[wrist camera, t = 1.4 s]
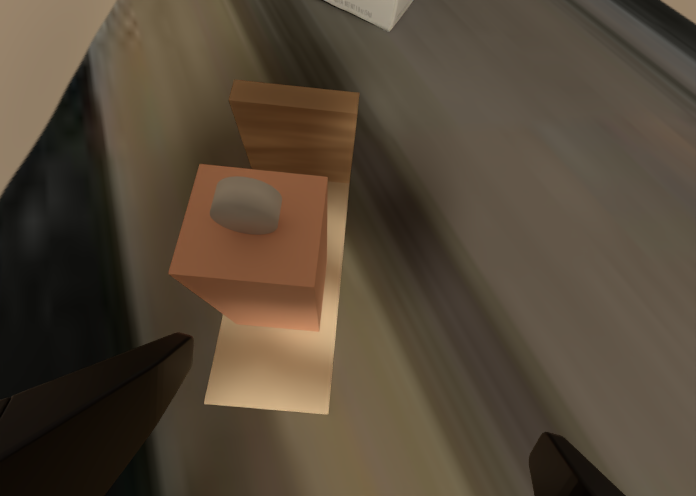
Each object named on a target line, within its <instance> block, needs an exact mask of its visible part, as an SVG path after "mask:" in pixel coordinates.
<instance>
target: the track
mask: <svg viewBox="0 0 696 496" xmlns="http://www.w3.org/2000/svg"><path fill="white" fill-rule="evenodd" d="M358 101H359V93H355V92H346V91H336V90H327V89H318V88H308V87H299V86H290V85H280V84H271V83H262V82H252V81H243V80H234V82H233V86H232V89H231V93H230V97H229V103H230V106H231V109H232V112H233V115H234V118H235V121H236V124H237V127H238V130H239V133H240V136H241V139H242V142H243V145H244V147H245V150H246V153H247V156H248V159H249V162H250V165H251V168H252V169H255V170H265V171H275V172H284V173H294V174H304V175H314V176H324V177H328V193H327V267H326V276H325V285H324V294H323V303H322V312H321V321H320V331H319V332H316V331H305V330H294V329H283V328H272V327H261V326H250V325H239V324H236V323H234V322H233V321H232V320H230V319H229V318H228V317H226V316H225V315H224V314H223V317H222V322H221V326H220V331H219V336H218V340H217V345H216V350H215V354H214V359H213V364H212V368H211V373H210V378H209V382H208V387H207V391H206V396H205V401H204V404H212V405H224V406H235V407H247V408H259V409H271V410H282V411H294V412H306V413H318V414H328V411H329V400H330V390H331V379H332V368H333V357H334V346H335V335H336V324H337V313H338V302H339V292H340V281H341V270H342V259H343V248H344V237H345V226H346V215H347V204H348V194H349V183H350V174H351V165H352V156H353V148H354V139H355V130H356V121H357V112H358Z"/></svg>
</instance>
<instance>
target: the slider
mask: <svg viewBox="0 0 696 496" xmlns="http://www.w3.org/2000/svg"><path fill="white" fill-rule="evenodd" d="M327 193H328V177H324V176H314V175H304V174H294V173H284V172H275V171H265V170H255V169H245V168H235V167H225V166H215V165H205V164H199V168H198V171H197V175H196V178H195V182H194V185H193V189H192V192H191V196H190V199H189V203H188V206H187V210H186V213H185V217H184V220H183V224H182V227H181V231H180V234H179V238H178V241H177V245H176V248H175V251H174V255H173V258H172V262H171V265H170V269H169V272H168V274H169V275H170V276H172V277H173V278H175V279H176V280H177V281H179V282H180V283H181V284H183V285H184V286H185V287H187V288H188V289H189V290H191V291H192V292H194V293H195V294H196V295H198V296H199V297H200V298H202V299H203V300H204V301H206V302H207V303H209V304H210V305H211V306H213V307H214V308H215V309H217V310H218V311H219V312H221V313H222V314H224V315H225V316H226V317H228V318H229V319H230V320H232V321H233V322H234V323H236V324H239V325H250V326H261V327H272V328H283V329H294V330H305V331H316V332H319V331H320V321H321V312H322V303H323V294H324V285H325V276H326V267H327Z"/></svg>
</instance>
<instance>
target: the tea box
mask: <svg viewBox="0 0 696 496" xmlns="http://www.w3.org/2000/svg"><path fill="white" fill-rule="evenodd" d="M324 1H326V2H328V3H330V4H332V5H334V6H336V7H338V8H340V9H343V10H345V11H347V12H349V13H352V14H354V15H356V16H358V17H360V18H362V19H364V20H366V21H368V22H370V23H372V24H374V25H376V26H378V27H380V28H382V29H384V30H386V31H390V30H391V29H392V28H393V27H394V26H395V24H396V23H397V22H398V20H399V19H400V18H401V16H402V15H403V14H404V12H405V11H406V10H407V8H408V7H409V6H410V4H411V3H412V2H413V1H414V0H324Z"/></svg>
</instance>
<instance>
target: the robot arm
mask: <svg viewBox="0 0 696 496" xmlns="http://www.w3.org/2000/svg"><path fill="white" fill-rule="evenodd" d="M193 346H194V339H193V337H192V336H191V335H187V334H183V333H179V332H177V333H174V334H171V335H168V336H166V337H163V338H161V339H158V340H155V341H153V342H150V343H148V344H145V345H143V346H140V347H137V348H135V349H132V350H130V351H127V352H124V353H122V354H119V355H117V356H114V357H111V358H109V359H106V360H104V361H101V362H99V363H96V364H93V365H91V366H88V367H86V368H83V369H80V370H78V371H75V372H73V373H70V374H67V375H65V376H62V377H60V378H57V379H55V380H52V381H49V382H47V383H44V384H42V385H39V386H36V387H34V388H31V389H29V390H26V391H23V392H21V393H18V394H16V395H13V396H12V398H5V399H2V400H0V496H104V495H105V494H106V493H107V491H108V490H109V489H110V487H111V486H112V485H113V483H114V482H115V481H116V479H117V478H118V477H119V475H120V474H121V473H122V471H123V470H124V469H125V467H126V466H127V465H128V463H129V462H130V460H131V459H132V458H133V456H134V455H135V454H136V452H137V451H138V450H139V448H140V447H141V446H142V444H143V443H144V442H145V440H146V439H147V438H148V436H149V435H150V434H151V432H152V431H153V429H154V428H155V427H156V425H157V423H158V422H159V420H160V419H161V417H162V415H163V414H164V412H165V410H166V409H167V407H168V405H169V404H170V402H171V400H172V399H173V397H174V395H175V394H176V392H177V390H178V389H179V387H180V385H181V384H182V382H183V380H184V379H185V377H186V375H187V374H188V372H189V370H190V368H191V365H192V359H193ZM529 468H530V473H531V479H532V484H533V490H534V495H535V496H625V495H624V494H623V493H622V492H621V491H620V490H619V489H618V488H617V487H616V486H615V485H614V484H613V483H612V482H611V481H610V480H608V479H607V478H606V477H605V476H604V475H603V474H602V473H601V472H600V471H599V470H598V469H597V468H596V467H595V466H594V465H593V464H592V463H591V462H589V461H588V460H587V459H586V458H585V457H584V456H583V455H582V454H581V453H580V452H579V451H578V450H577V449H576V448H575V447H574V446H573V445H572V444H571V443H569V442H568V441H567V440H566V439H565V438H564V437H563V436H560V435H557V434H553V433H550V432H544V433H542V434H541V436H540V438H539V439H538V441H537V443H536V445H535V446H534V448H533V450H532V452H531V453H530V456H529Z"/></svg>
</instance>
